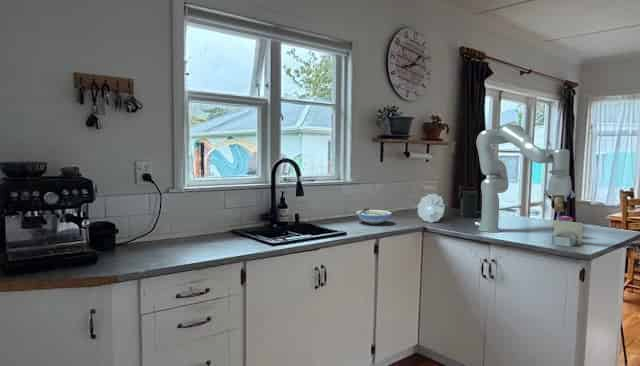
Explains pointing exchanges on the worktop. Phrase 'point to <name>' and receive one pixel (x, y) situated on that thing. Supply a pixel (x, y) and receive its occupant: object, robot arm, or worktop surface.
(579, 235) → the cream block
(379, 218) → the ramen bowl
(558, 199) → the tan cylinder
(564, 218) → the supplement box
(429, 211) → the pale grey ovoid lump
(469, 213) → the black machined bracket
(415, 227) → the worktop surface
